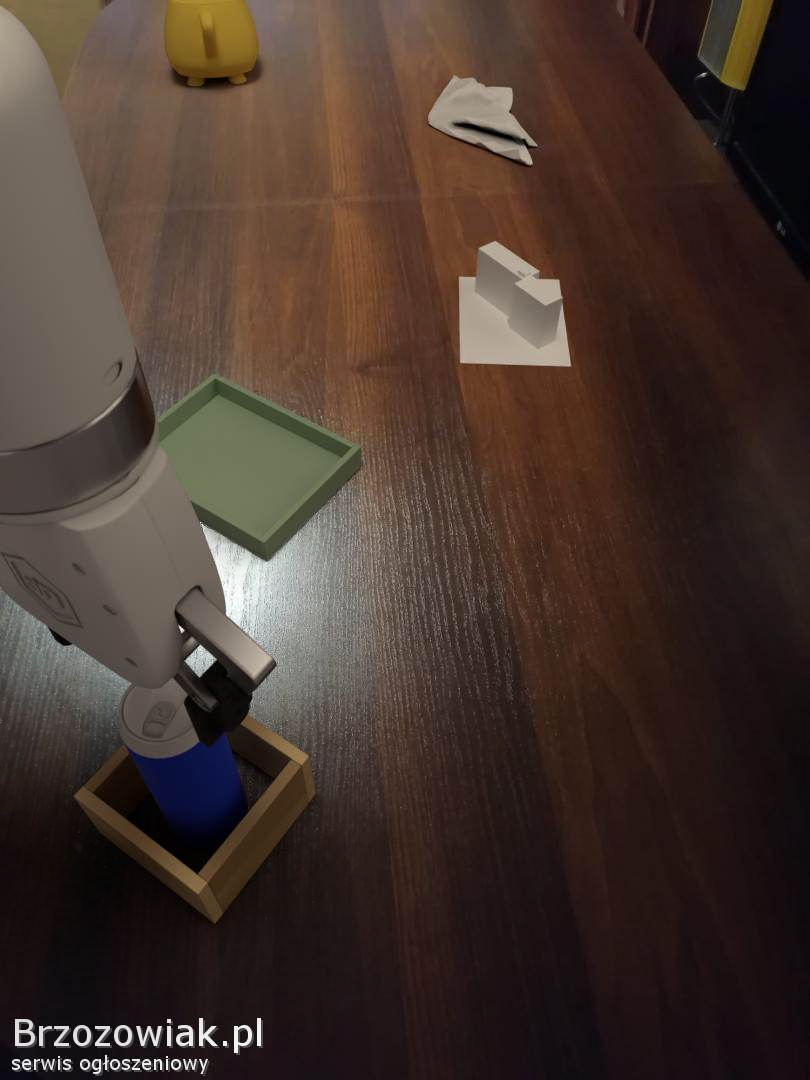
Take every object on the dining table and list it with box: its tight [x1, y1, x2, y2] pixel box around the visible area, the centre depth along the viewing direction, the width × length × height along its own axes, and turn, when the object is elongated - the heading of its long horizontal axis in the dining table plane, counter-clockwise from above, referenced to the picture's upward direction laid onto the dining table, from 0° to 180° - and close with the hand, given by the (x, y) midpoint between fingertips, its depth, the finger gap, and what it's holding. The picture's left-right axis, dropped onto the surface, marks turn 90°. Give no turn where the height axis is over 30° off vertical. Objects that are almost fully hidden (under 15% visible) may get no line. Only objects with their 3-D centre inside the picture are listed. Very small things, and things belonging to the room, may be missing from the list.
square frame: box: [73, 713, 316, 925], centre depth 55 cm, size 10×10×6 cm
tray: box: [157, 372, 363, 562], centre depth 76 cm, size 17×13×2 cm
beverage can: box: [117, 678, 248, 849], centre depth 51 cm, size 5×5×15 cm
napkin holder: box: [458, 240, 572, 367], centre depth 89 cm, size 15×11×6 cm
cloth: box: [427, 74, 539, 167], centre depth 118 cm, size 26×14×2 cm, turn 6°
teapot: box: [163, 0, 260, 87], centre depth 123 cm, size 13×20×12 cm
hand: (153, 671), depth 43 cm, fingers open, 9 cm apart
